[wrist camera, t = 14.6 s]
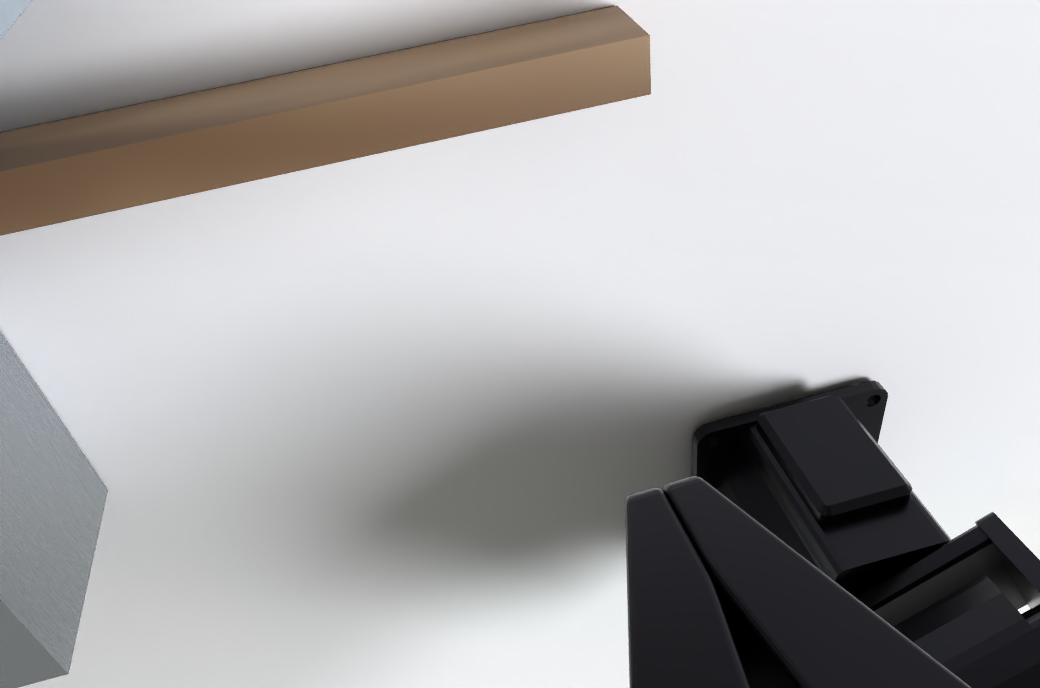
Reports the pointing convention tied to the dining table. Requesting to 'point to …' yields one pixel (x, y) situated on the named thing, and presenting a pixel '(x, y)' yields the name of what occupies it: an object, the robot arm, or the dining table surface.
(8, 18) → the carriage
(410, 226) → the dining table surface
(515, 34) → the brown wooden flat frame
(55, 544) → the grey peg hole block
